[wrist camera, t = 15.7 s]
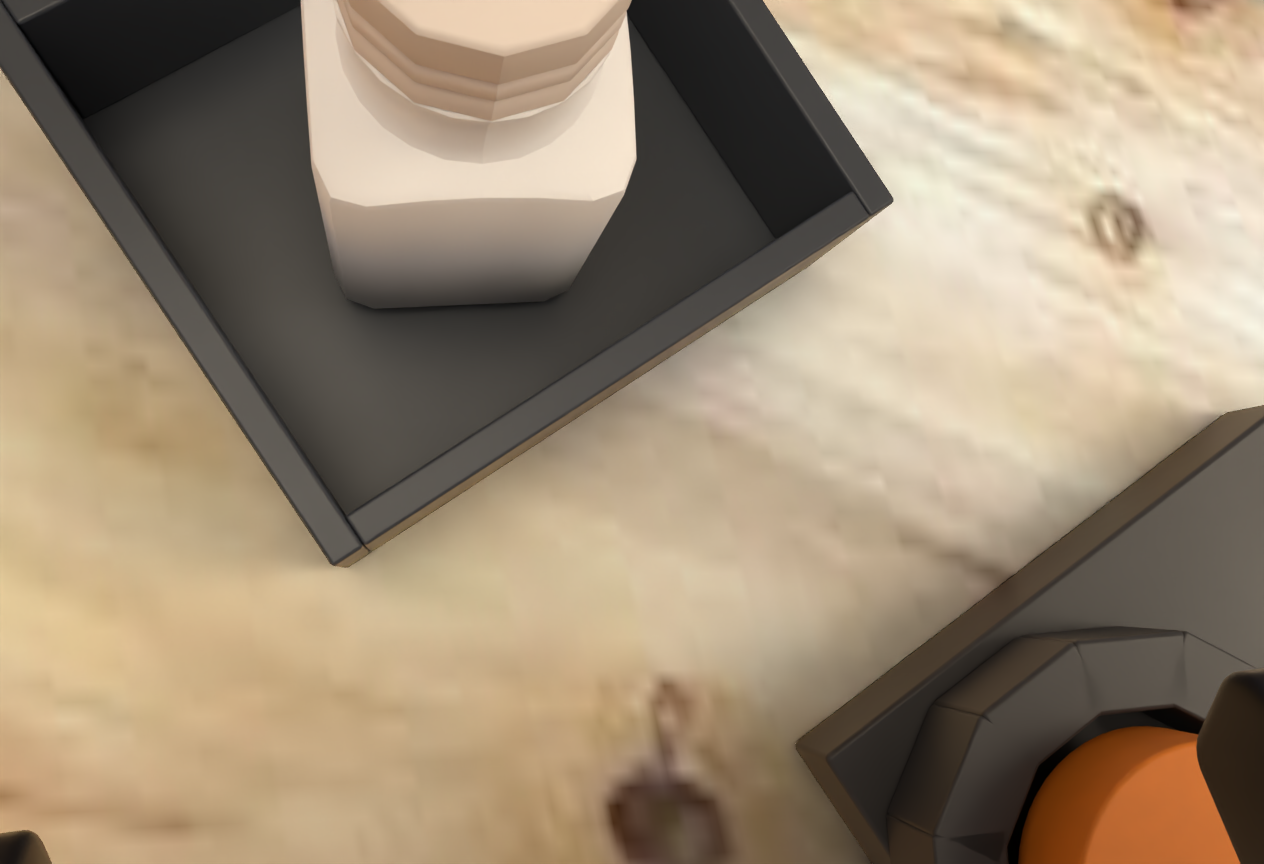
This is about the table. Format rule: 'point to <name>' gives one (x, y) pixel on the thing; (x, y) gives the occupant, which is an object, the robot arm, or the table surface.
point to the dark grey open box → (434, 335)
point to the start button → (1127, 805)
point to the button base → (1060, 661)
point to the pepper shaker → (466, 143)
